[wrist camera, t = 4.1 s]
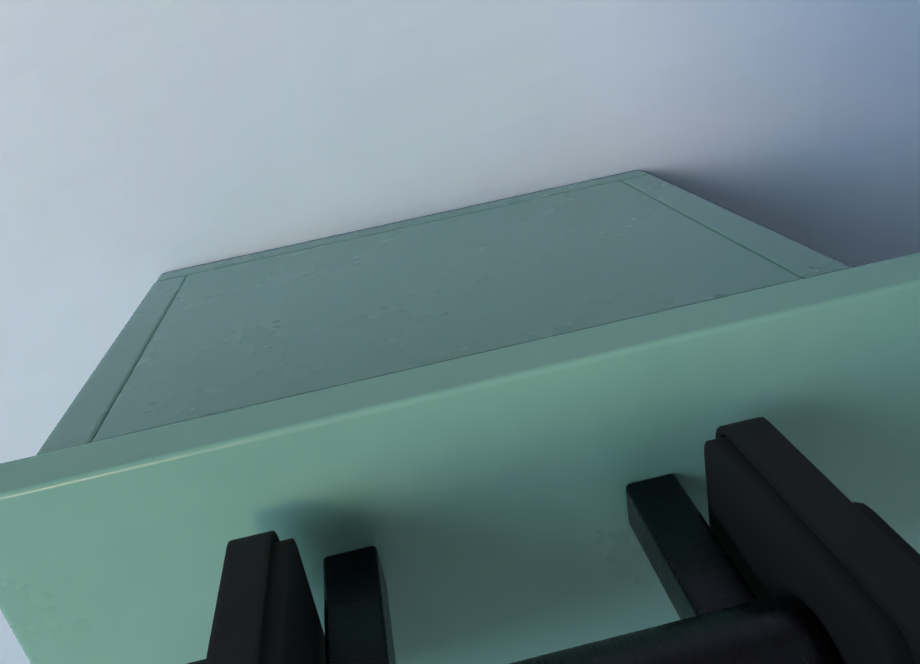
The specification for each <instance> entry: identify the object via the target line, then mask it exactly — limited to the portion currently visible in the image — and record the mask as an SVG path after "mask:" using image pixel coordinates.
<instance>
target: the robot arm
mask: <svg viewBox="0 0 920 664" xmlns="http://www.w3.org/2000/svg"><path fill="white" fill-rule="evenodd" d="M704 459H705V473H706V486H707V499H708V512H709V525H710V528H711V530H712V531H713V533H714V534H715V536H716V537H717V539H718V540H719V542H720V543H721V545H722V546H723V548H724V549H725V551H726V552H727V554H728V555H729V557H730V558H731V560H732V561H733V563H734V564H735V566H736V567H737V569H738V570H739V572H740V573H741V575H742V576H743V578H744V579H745V581H746V582H747V584H748V585H749V587H750V588H751V590H752V591H753V593H754V594H755V596H756V597H757V599H758V600H760V599H764V598H768V597H772V596H775V595H779V594H780V595H788V596H791V597H794V598H796V599H797V600H799V601H800V602H801V603H802V604H803V605H805V606H806V607H807V608H808V609H809V611H810V612H811V613H812V614H813V615H814V616H815V618H816V619H817V620H818V622H819V623H820V625H821V626H822V627H823V629H824V630H825V632H826V634H827V635H828V637H829V638H830V640H831V642H832V644H833V645H834V647H835V649H836V651H837V653H838V655H839V657H840V659H841V661H842V663H843V664H920V554H919V553H918V552H917V551H916V550H915V549H914V548H913V547H911V546H910V545H909V544H908V543H907V542H906V541H905V540H904V539H903V538H902V537H901V536H900V535H899V534H898V533H897V532H896V531H895V530H894V529H892V528H891V527H890V526H889V525H888V524H887V523H886V522H885V521H884V520H883V519H882V518H881V517H880V516H879V515H878V514H877V513H876V512H875V511H874V510H872V509H871V508H869V507H868V506H867V505H865V504H864V503H859V502H851V501H850V500H849V499H848V498H847V497H846V496H845V495H844V494H843V493H842V492H841V491H840V490H839V489H838V488H837V487H836V486H835V485H834V484H833V483H832V482H831V481H830V480H829V479H828V478H827V477H826V476H825V475H824V474H823V473H822V472H821V471H820V470H819V469H818V468H816V467H815V466H814V465H813V464H812V463H811V462H810V461H809V460H808V459H807V458H806V457H805V456H804V455H803V454H802V453H801V452H800V451H799V450H798V449H797V448H796V447H795V446H794V445H793V444H792V443H791V442H790V441H789V440H788V439H787V438H786V437H785V436H784V435H783V434H782V433H780V432H779V431H778V430H777V429H776V428H775V427H774V426H773V425H772V424H771V423H770V422H769V421H768V420H767V419H765V418H764V417H757V418H753V419H748V420H744V421H740V422H735V423H731V424H727V425H723V426H719V427H718V428H717V430H716V434H715V439H713V440H709V441H706V442H705V445H704ZM187 664H326V663H325V635H324V632H323V628H322V625H321V622H320V618H319V615H318V612H317V609H316V605H315V602H314V599H313V596H312V592H311V589H310V586H309V583H308V579H307V576H306V573H305V570H304V566H303V563H302V560H301V557H300V553H299V550H298V547H297V544H296V542H295V540H294V539H293V538H291V539H286V540H282V541H280V540H279V537H278V535H277V533H276V532H275V531H274V530H273V531H269V532H264V533H260V534H256V535H252V536H247V537H243V538H239V539H234V540H230V541H229V542H228V544H227V547H226V553H225V558H224V564H223V569H222V575H221V580H220V586H219V591H218V596H217V602H216V607H215V613H214V618H213V624H212V629H211V635H210V640H209V645H208V651H207V656H206V659H203V660H199V661H195V662H191V663H187Z"/></svg>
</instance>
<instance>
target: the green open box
mask: <svg viewBox="0 0 920 664" xmlns="http://www.w3.org/2000/svg"><path fill="white" fill-rule="evenodd" d="M849 268H851V267H849V266H847V265H845V264H843V263H840V262H838V261H836V260H834V259H832V258H830V257H827V256H825V255H823V254H821V253H819V252H817V251H815V250H812V249H810V248H808V247H806V246H804V245H802V244H799V243H797V242H795V241H793V240H791V239H789V238H786V237H784V236H782V235H780V234H778V233H776V232H774V231H771V230H769V229H767V228H765V227H763V226H761V225H758V224H756V223H754V222H752V221H750V220H748V219H745V218H743V217H741V216H739V215H737V214H735V213H733V212H730V211H728V210H726V209H724V208H722V207H720V206H717V205H715V204H713V203H711V202H709V201H707V200H704V199H702V198H700V197H698V196H696V195H694V194H691V193H689V192H687V191H685V190H683V189H681V188H679V187H676V186H674V185H672V184H670V183H668V182H666V181H663V180H661V179H659V178H657V177H655V176H653V175H649V174H647V173H645V172H643V171H641V170H636V171H631V172H627V173H622V174H617V175H613V176H608V177H604V178H599V179H594V180H590V181H585V182H581V183H576V184H571V185H567V186H562V187H558V188H553V189H548V190H544V191H539V192H535V193H530V194H526V195H521V196H516V197H512V198H507V199H503V200H498V201H493V202H489V203H484V204H480V205H475V206H470V207H466V208H461V209H457V210H452V211H447V212H443V213H438V214H434V215H429V216H425V217H420V218H415V219H411V220H406V221H402V222H397V223H392V224H388V225H383V226H379V227H374V228H369V229H365V230H360V231H356V232H351V233H347V234H342V235H337V236H333V237H328V238H324V239H319V240H314V241H310V242H305V243H301V244H296V245H291V246H287V247H282V248H278V249H273V250H268V251H264V252H259V253H255V254H250V255H246V256H241V257H236V258H232V259H227V260H223V261H218V262H213V263H209V264H204V265H200V266H195V267H190V268H186V269H181V270H177V271H172V272H167V273H163V274H162V275H160V277H159V278H158V280H157V281H156V283H154V285H153V286H152V288H151V289H150V290H149V292H148V293H147V295H146V296H145V298H144V299H143V301H142V302H141V304H140V305H139V306H138V308H137V309H136V311H135V312H134V314H133V315H132V317H131V318H130V320H129V321H128V322H127V324H126V325H125V327H124V328H123V330H122V331H121V333H120V334H119V336H118V337H117V338H116V340H115V341H114V343H113V344H112V346H111V347H110V349H109V350H108V352H107V353H106V354H105V356H104V357H103V359H102V360H101V362H100V363H99V365H98V366H97V367H96V369H95V370H94V372H93V373H92V375H91V376H90V378H89V379H88V381H87V382H86V383H85V385H84V386H83V388H82V389H81V391H80V392H79V394H78V395H77V397H76V398H75V399H74V401H73V402H72V404H71V405H70V407H69V408H68V410H67V411H66V413H65V414H64V415H63V417H62V418H61V420H60V421H59V423H58V424H57V426H56V427H55V429H54V430H53V431H52V433H51V434H50V436H49V437H48V439H47V440H46V442H45V443H44V445H43V446H42V447H41V449H40V450H39V452H38V453H37V455H41V454H45V453H49V452H54V451H58V450H62V449H67V448H71V447H75V446H80V445H84V444H88V443H93V442H97V441H102V440H106V439H110V438H115V437H119V436H123V435H128V434H132V433H136V432H141V431H145V430H149V429H154V428H158V427H162V426H167V425H171V424H175V423H180V422H184V421H188V420H193V419H197V418H202V417H206V416H210V415H215V414H219V413H223V412H228V411H232V410H236V409H241V408H245V407H249V406H254V405H258V404H262V403H267V402H271V401H275V400H280V399H284V398H288V397H293V396H297V395H302V394H306V393H310V392H315V391H319V390H323V389H328V388H332V387H336V386H341V385H345V384H349V383H354V382H358V381H362V380H367V379H371V378H375V377H380V376H384V375H388V374H393V373H397V372H402V371H406V370H410V369H415V368H419V367H423V366H428V365H432V364H436V363H441V362H445V361H449V360H454V359H458V358H462V357H467V356H471V355H475V354H480V353H484V352H489V351H493V350H497V349H502V348H506V347H510V346H515V345H519V344H523V343H528V342H532V341H536V340H541V339H545V338H549V337H554V336H558V335H562V334H567V333H571V332H575V331H580V330H584V329H589V328H593V327H597V326H602V325H606V324H610V323H615V322H619V321H623V320H628V319H632V318H636V317H641V316H645V315H649V314H654V313H658V312H662V311H667V310H671V309H675V308H680V307H684V306H689V305H693V304H697V303H702V302H706V301H710V300H715V299H719V298H723V297H728V296H732V295H736V294H741V293H745V292H749V291H754V290H758V289H762V288H767V287H771V286H775V285H780V284H784V283H789V282H793V281H797V280H802V279H806V278H810V277H815V276H819V275H823V274H828V273H832V272H836V271H841V270H845V269H849Z"/></svg>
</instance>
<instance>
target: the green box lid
mask: <svg viewBox="0 0 920 664" xmlns="http://www.w3.org/2000/svg"><path fill="white" fill-rule="evenodd" d="M757 417H764V418H765V419H767V420H768V421H769V422H770V423H771V424H772V425H773V426H774V427H775V428H776V429H777V430H778V431H779V432H780V433H782V434H783V435H784V436H785V437H786V438H787V439H788V440H789V441H790V442H791V443H792V444H793V445H794V446H795V447H796V448H797V449H798V450H799V451H800V452H801V453H802V454H803V455H804V456H805V457H806V458H807V459H808V460H809V461H810V462H811V463H812V464H813V465H814V466H815V467H816V468H818V469H819V470H820V471H821V472H822V473H823V474H824V475H825V476H826V477H827V478H828V479H829V480H830V481H831V482H832V483H833V484H834V485H835V486H836V487H837V488H838V489H839V490H840V491H841V492H842V493H843V494H844V495H845V496H846V497H847V498H848V499H849V500H850V501H851V502H859V503H864V504H865V505H867V506H868V507H869V508H871V509H872V510H874V511H875V512H876V513H877V514H878V515H879V516H880V517H881V518H882V519H883V520H884V521H885V522H886V523H887V524H888V525H889V526H890V527H891V528H892V529H894V530H895V531H896V532H897V533H898V534H899V535H900V536H901V537H902V538H903V539H904V540H905V541H906V542H907V543H908V544H909V545H910V546H911V547H913V548H914V549H915V550H916V551H917V552H918V553H919V554H920V252H919V253H915V254H910V255H906V256H902V257H897V258H893V259H889V260H884V261H880V262H875V263H871V264H867V265H862V266H858V267H854V268H849V269H845V270H841V271H836V272H832V273H828V274H823V275H819V276H815V277H810V278H806V279H802V280H797V281H793V282H789V283H784V284H780V285H775V286H771V287H767V288H762V289H758V290H754V291H749V292H745V293H741V294H736V295H732V296H728V297H723V298H719V299H715V300H710V301H706V302H702V303H697V304H693V305H689V306H684V307H680V308H675V309H671V310H667V311H662V312H658V313H654V314H649V315H645V316H641V317H636V318H632V319H628V320H623V321H619V322H615V323H610V324H606V325H602V326H597V327H593V328H589V329H584V330H580V331H575V332H571V333H567V334H562V335H558V336H554V337H549V338H545V339H541V340H536V341H532V342H528V343H523V344H519V345H515V346H510V347H506V348H502V349H497V350H493V351H489V352H484V353H480V354H475V355H471V356H467V357H462V358H458V359H454V360H449V361H445V362H441V363H436V364H432V365H428V366H423V367H419V368H415V369H410V370H406V371H402V372H397V373H393V374H388V375H384V376H380V377H375V378H371V379H367V380H362V381H358V382H354V383H349V384H345V385H341V386H336V387H332V388H328V389H323V390H319V391H315V392H310V393H306V394H302V395H297V396H293V397H288V398H284V399H280V400H275V401H271V402H267V403H262V404H258V405H254V406H249V407H245V408H241V409H236V410H232V411H228V412H223V413H219V414H215V415H210V416H206V417H202V418H197V419H193V420H188V421H184V422H180V423H175V424H171V425H167V426H162V427H158V428H154V429H149V430H145V431H141V432H136V433H132V434H128V435H123V436H119V437H115V438H110V439H106V440H102V441H97V442H93V443H88V444H84V445H80V446H75V447H71V448H67V449H62V450H58V451H54V452H49V453H45V454H41V455H36V456H32V457H28V458H23V459H19V460H15V461H10V462H6V463H2V464H0V609H1V611H2V613H3V614H4V616H5V618H6V620H7V621H8V623H9V625H10V627H11V629H12V630H13V632H14V634H15V636H16V637H17V639H18V641H19V643H20V645H21V646H22V648H23V650H24V652H25V654H26V655H27V657H28V659H29V661H30V662H31V664H187V663H191V662H195V661H199V660H203V659H206V656H207V651H208V645H209V640H210V635H211V629H212V624H213V618H214V613H215V607H216V602H217V596H218V591H219V586H220V580H221V575H222V569H223V564H224V558H225V553H226V547H227V544H228V542H229V541H230V540H234V539H239V538H243V537H247V536H252V535H256V534H260V533H264V532H269V531H273V530H274V531H275V532H276V533H277V535H278V537H279V540H280V541H282V540H286V539H291V538H293V539H294V540H295V542H296V544H297V547H298V550H299V553H300V557H301V560H302V563H303V566H304V570H305V573H306V576H307V579H308V583H309V586H310V589H311V592H312V596H313V599H314V602H315V605H316V609H317V612H318V615H319V618H320V622H321V625H322V628H323V632H324V635H325V663H326V664H843V663H842V661H841V659H840V657H839V655H838V653H837V651H836V649H835V647H834V645H833V644H832V642H831V640H830V638H829V637H828V635H827V634H826V632H825V630H824V629H823V627H822V626H821V625H820V623H819V622H818V620H817V619H816V618H815V616H814V615H813V614H812V613H811V612H810V611H809V609H808V608H807V607H806V606H805V605H803V604H802V603H801V602H800V601H799V600H797V599H796V598H794V597H791V596H788V595H780V594H779V595H775V596H772V597H768V598H764V599H760V600H758V599H757V597H756V596H755V594H754V593H753V591H752V590H751V588H750V587H749V585H748V584H747V582H746V581H745V579H744V578H743V576H742V575H741V573H740V572H739V570H738V569H737V567H736V566H735V564H734V563H733V561H732V560H731V558H730V557H729V555H728V554H727V552H726V551H725V549H724V548H723V546H722V545H721V543H720V542H719V540H718V539H717V537H716V536H715V534H714V533H713V531H712V530H711V528H710V525H709V512H708V499H707V486H706V473H705V459H704V445H705V442H706V441H709V440H713V439H715V434H716V430H717V428H718V427H719V426H723V425H727V424H731V423H735V422H740V421H744V420H748V419H753V418H757Z"/></svg>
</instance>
